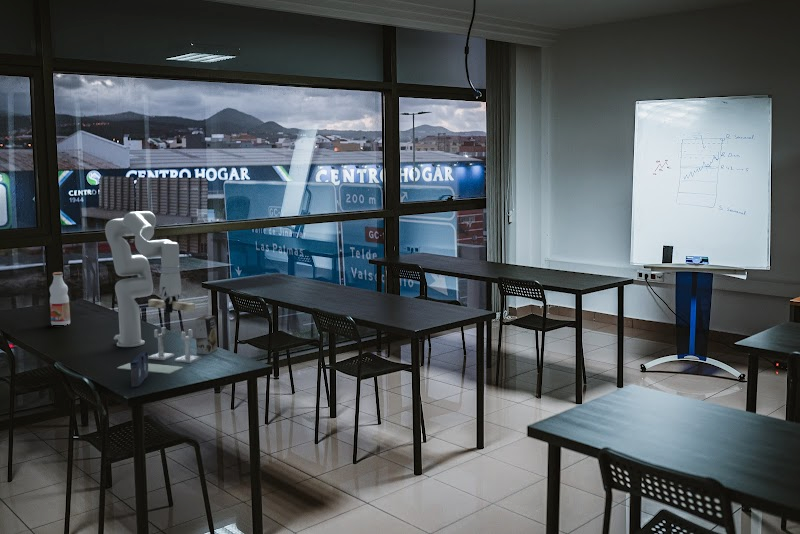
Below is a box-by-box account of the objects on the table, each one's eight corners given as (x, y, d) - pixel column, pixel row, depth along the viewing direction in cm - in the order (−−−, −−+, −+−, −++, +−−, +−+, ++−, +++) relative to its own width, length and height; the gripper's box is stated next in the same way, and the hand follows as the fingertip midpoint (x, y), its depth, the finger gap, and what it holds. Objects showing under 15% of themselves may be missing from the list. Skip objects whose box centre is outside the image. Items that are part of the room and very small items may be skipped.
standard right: (174, 361, 349) (173, 332, 347) (185, 357, 356) (184, 328, 354) (190, 362, 346) (189, 333, 344) (201, 358, 353) (199, 329, 352)
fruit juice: (72, 324, 426) (69, 272, 423) (54, 327, 421) (51, 274, 417) (67, 321, 434) (64, 270, 430) (49, 324, 428) (45, 272, 424)
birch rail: (148, 306, 353) (148, 300, 353) (152, 305, 356) (152, 298, 355) (191, 311, 346) (190, 304, 345) (195, 309, 349) (194, 303, 348)
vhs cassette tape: (142, 374, 328) (141, 351, 326) (150, 374, 328) (148, 351, 326) (130, 387, 309) (128, 362, 308) (137, 387, 310) (136, 362, 308)
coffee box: (209, 354, 361) (208, 319, 359) (196, 353, 362) (194, 318, 360) (217, 349, 370) (216, 315, 368) (204, 349, 371) (203, 314, 369)
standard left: (148, 358, 353) (146, 329, 352) (159, 354, 361) (157, 326, 359) (163, 360, 351) (161, 331, 349) (174, 356, 358) (173, 327, 356)
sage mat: (117, 368, 337) (117, 367, 337) (132, 362, 347) (132, 361, 347) (169, 373, 329) (169, 372, 329) (183, 367, 338) (183, 366, 338)
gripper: (174, 266, 357) (175, 307, 360) (151, 272, 342) (152, 314, 345) (188, 268, 355) (189, 308, 357) (166, 273, 339) (167, 316, 342)
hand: (171, 311), depth 351 cm, fingers closed on birch rail, 3 cm apart
